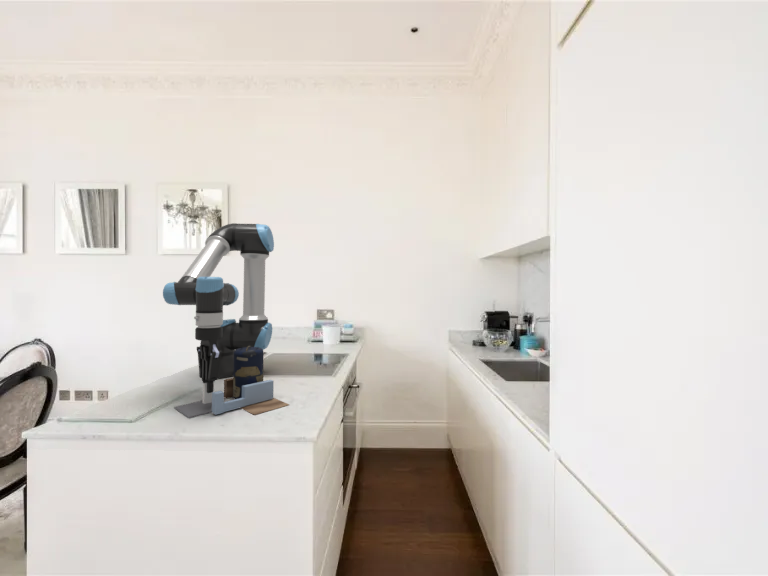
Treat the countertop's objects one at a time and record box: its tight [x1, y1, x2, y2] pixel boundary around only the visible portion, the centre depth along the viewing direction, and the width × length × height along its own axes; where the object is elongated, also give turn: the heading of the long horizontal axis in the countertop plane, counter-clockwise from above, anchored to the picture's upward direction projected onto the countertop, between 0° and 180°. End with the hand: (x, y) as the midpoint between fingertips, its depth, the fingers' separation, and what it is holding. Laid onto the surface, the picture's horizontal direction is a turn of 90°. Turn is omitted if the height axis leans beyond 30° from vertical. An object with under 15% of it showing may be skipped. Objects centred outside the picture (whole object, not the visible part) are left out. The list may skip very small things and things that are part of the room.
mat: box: [173, 400, 213, 419], centre depth 106 cm, size 12×12×1 cm
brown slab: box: [223, 377, 290, 416], centre depth 113 cm, size 23×12×6 cm, turn 49°
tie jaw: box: [212, 379, 275, 416], centre depth 107 cm, size 3×19×6 cm, turn 139°
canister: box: [232, 346, 265, 400], centre depth 115 cm, size 10×10×18 cm
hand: (208, 402), depth 105 cm, fingers closed
